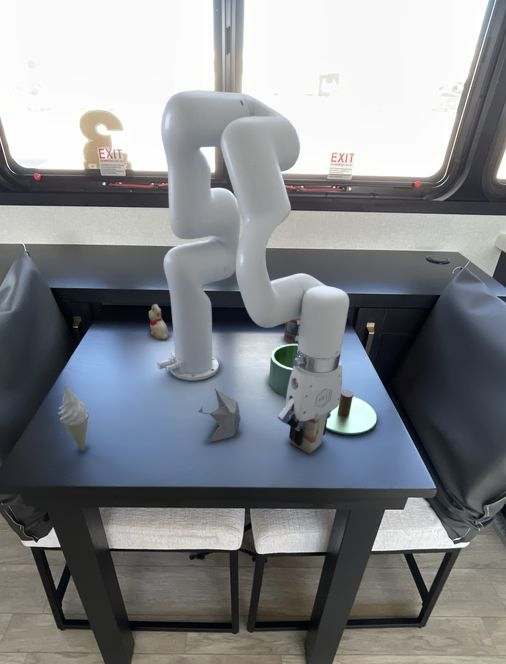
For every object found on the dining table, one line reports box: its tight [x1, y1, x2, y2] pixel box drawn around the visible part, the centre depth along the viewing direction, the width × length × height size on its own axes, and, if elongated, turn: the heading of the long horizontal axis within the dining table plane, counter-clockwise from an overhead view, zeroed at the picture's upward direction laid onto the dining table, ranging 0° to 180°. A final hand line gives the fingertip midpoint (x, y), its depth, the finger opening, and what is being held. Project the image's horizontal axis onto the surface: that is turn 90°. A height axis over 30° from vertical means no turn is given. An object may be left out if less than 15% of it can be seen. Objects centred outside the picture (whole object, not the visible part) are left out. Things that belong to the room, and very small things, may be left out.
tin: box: [268, 343, 298, 397], centre depth 101 cm, size 13×13×8 cm
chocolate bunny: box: [148, 303, 170, 341], centre depth 122 cm, size 6×8×10 cm
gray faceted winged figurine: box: [197, 388, 241, 443], centre depth 87 cm, size 12×6×9 cm
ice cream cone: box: [57, 386, 90, 452], centre depth 77 cm, size 5×5×15 cm
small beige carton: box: [289, 413, 327, 454], centre depth 82 cm, size 5×4×10 cm
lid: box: [326, 389, 378, 436], centre depth 91 cm, size 14×14×6 cm
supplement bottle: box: [283, 318, 301, 344], centre depth 120 cm, size 6×6×11 cm
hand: (307, 436), depth 83 cm, fingers closed on small beige carton, 5 cm apart
